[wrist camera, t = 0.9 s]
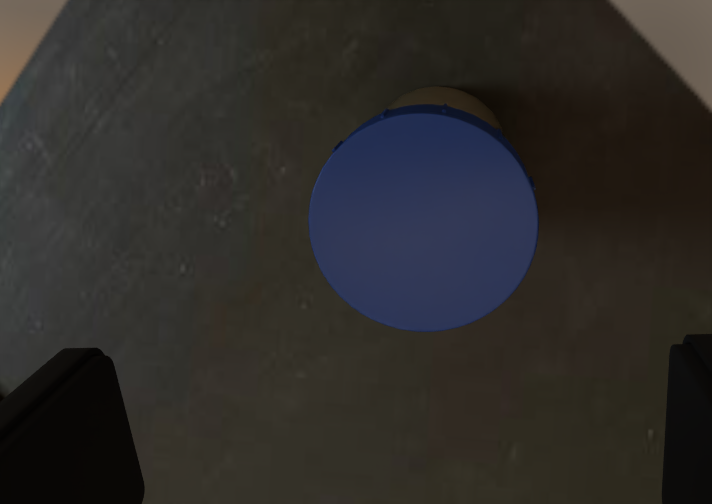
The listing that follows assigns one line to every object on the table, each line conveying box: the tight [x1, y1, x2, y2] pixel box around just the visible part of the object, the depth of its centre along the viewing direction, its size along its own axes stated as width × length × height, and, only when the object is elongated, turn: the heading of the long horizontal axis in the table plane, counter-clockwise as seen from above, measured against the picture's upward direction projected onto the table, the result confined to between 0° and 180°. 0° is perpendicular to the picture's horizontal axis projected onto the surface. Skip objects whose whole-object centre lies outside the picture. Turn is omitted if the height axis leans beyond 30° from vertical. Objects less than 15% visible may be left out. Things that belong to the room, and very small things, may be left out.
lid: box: [308, 103, 539, 332], centre depth 21 cm, size 7×7×2 cm
